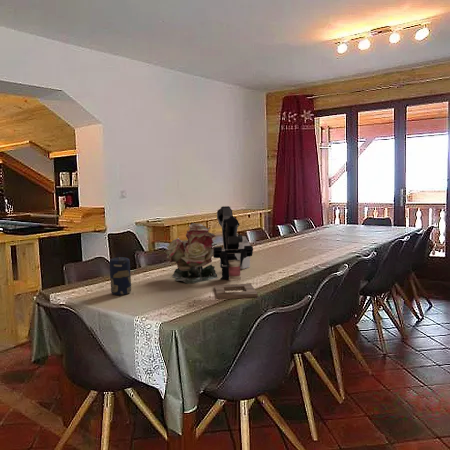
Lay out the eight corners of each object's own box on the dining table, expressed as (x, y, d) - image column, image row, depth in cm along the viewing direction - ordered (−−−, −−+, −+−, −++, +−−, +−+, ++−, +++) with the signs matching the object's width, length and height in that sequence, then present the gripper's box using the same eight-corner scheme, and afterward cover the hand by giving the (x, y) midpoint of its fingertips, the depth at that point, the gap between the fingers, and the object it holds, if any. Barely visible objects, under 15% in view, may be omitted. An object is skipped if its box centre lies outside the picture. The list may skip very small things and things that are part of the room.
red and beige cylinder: (226, 279, 209) (226, 260, 208) (236, 277, 211) (236, 259, 210) (232, 281, 204) (232, 262, 203) (243, 280, 207) (242, 261, 206)
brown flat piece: (214, 288, 217) (214, 285, 217) (250, 286, 219) (250, 283, 219) (217, 299, 197) (217, 295, 197) (257, 296, 199) (257, 293, 199)
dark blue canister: (133, 290, 217) (131, 254, 215) (129, 295, 207) (127, 257, 206) (113, 291, 217) (111, 255, 215) (109, 296, 207) (106, 258, 205)
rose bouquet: (162, 276, 247) (160, 223, 244) (212, 271, 258) (210, 219, 254) (174, 286, 223) (172, 227, 220) (228, 280, 234) (226, 223, 231)
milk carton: (240, 265, 270) (239, 235, 268) (250, 267, 265) (249, 235, 263) (233, 268, 264) (232, 236, 262) (243, 269, 260) (242, 237, 258)
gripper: (212, 230, 208) (215, 257, 198) (252, 228, 210) (256, 255, 200) (212, 244, 217) (214, 271, 207) (249, 242, 218) (253, 269, 209)
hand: (234, 266), depth 206 cm, fingers closed on red and beige cylinder, 5 cm apart
